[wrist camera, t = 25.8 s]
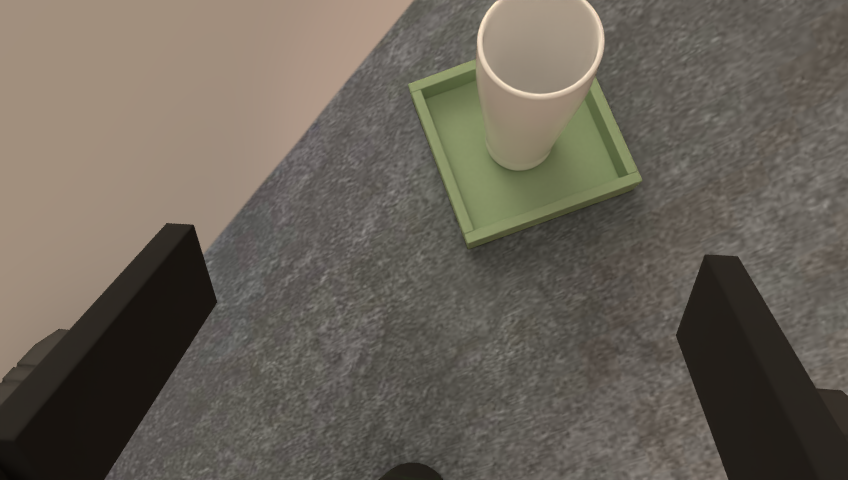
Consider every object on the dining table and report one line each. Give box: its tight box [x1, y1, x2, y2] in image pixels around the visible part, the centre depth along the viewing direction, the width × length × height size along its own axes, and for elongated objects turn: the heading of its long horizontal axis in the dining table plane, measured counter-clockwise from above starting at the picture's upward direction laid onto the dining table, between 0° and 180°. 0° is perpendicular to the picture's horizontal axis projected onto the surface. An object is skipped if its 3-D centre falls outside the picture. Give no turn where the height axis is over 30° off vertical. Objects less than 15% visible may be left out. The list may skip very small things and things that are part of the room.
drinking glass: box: [476, 0, 605, 171], centre depth 36 cm, size 7×7×15 cm
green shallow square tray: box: [408, 59, 642, 249], centre depth 42 cm, size 14×14×3 cm
